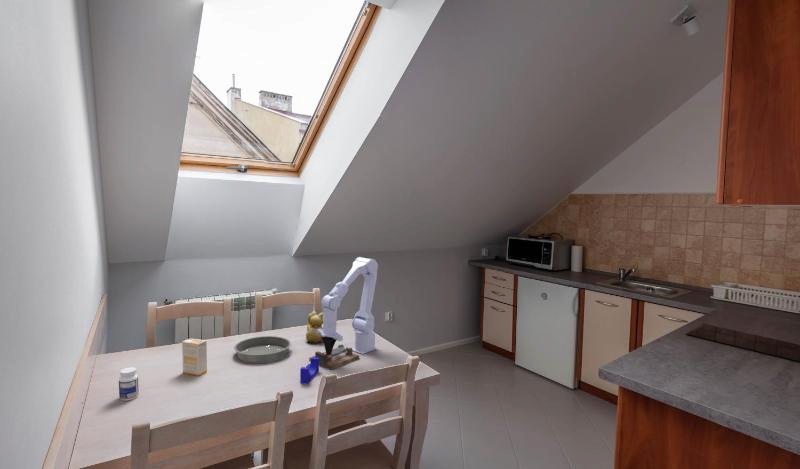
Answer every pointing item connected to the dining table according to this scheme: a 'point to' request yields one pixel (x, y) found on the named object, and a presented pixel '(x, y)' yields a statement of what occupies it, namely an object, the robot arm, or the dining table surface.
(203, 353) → the supplement box
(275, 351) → the cake pan
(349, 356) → the clamp board
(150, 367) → the dining table surface
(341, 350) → the tan and grey block
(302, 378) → the cable clip
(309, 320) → the decorative figurine
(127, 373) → the pill bottle
